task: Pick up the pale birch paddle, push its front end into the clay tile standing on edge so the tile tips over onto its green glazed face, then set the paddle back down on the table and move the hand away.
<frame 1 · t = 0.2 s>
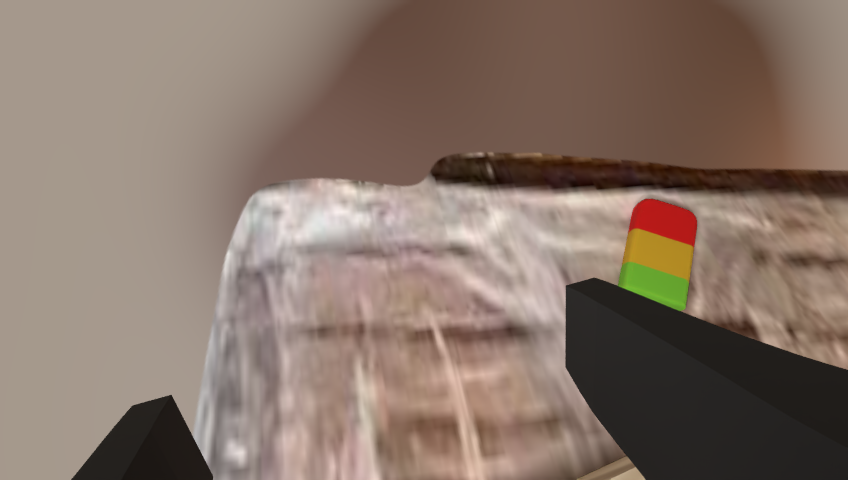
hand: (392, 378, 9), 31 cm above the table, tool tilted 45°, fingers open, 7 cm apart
popsicle: (647, 284, 43), on the table
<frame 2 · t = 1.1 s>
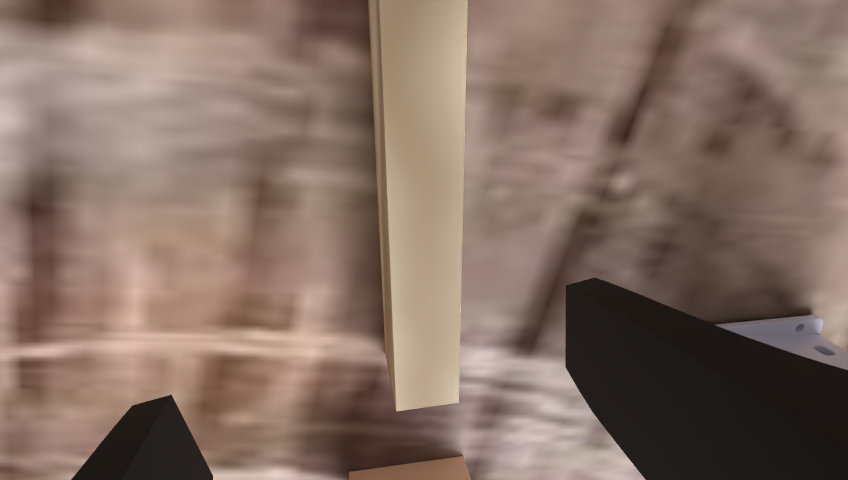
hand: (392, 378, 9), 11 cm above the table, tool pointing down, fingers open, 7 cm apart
paddle: (407, 182, 19), on the table
tile: (407, 477, 25), on the table
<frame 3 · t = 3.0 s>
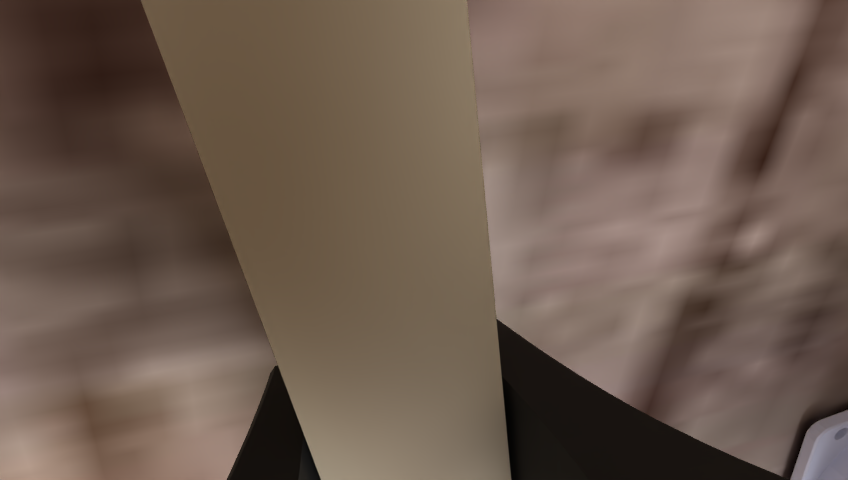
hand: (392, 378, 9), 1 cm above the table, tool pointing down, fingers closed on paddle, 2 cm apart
paddle: (376, 328, 10), on the table, touching gripper
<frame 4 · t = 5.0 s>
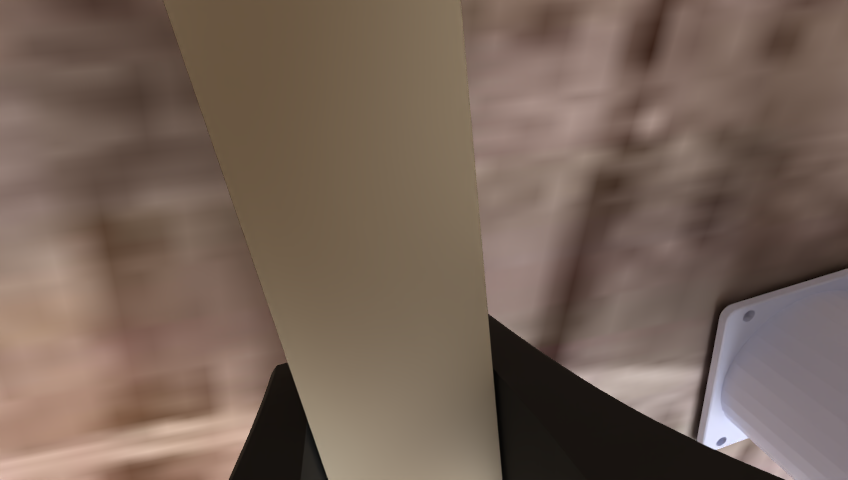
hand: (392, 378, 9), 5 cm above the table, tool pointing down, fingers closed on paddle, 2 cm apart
paddle: (373, 316, 10), point 3 cm above the table, touching gripper
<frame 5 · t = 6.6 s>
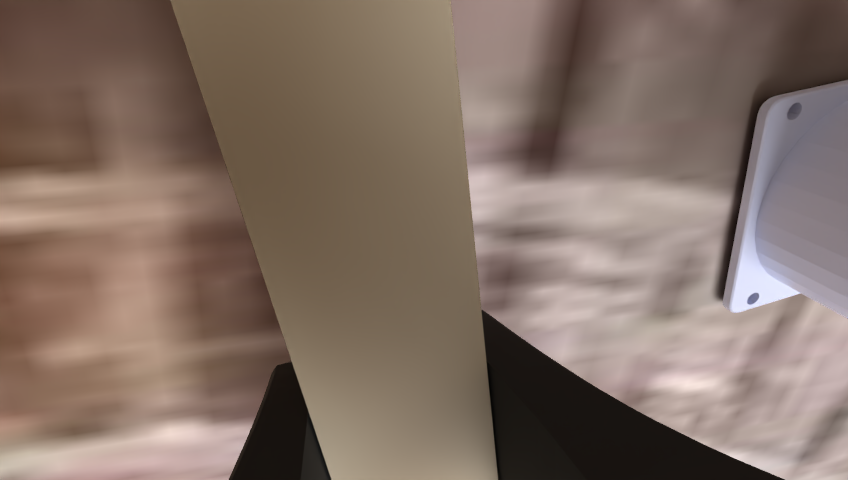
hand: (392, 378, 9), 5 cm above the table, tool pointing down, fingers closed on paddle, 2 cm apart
paddle: (371, 310, 11), point 3 cm above the table, touching gripper
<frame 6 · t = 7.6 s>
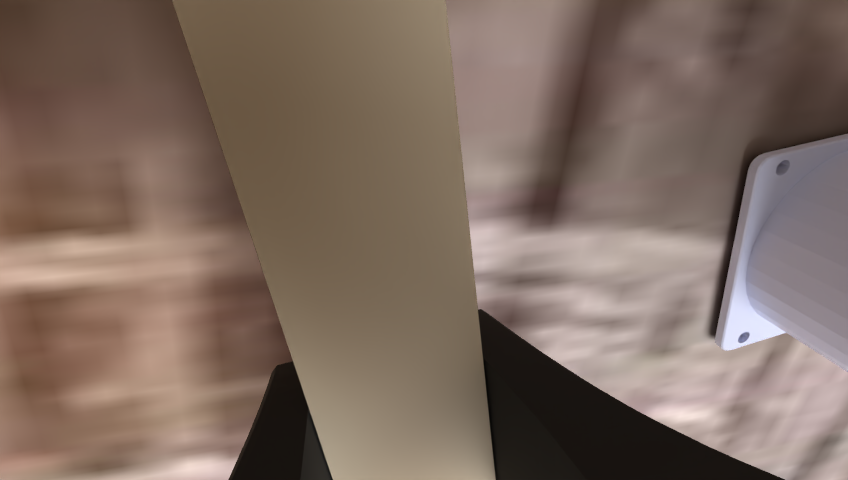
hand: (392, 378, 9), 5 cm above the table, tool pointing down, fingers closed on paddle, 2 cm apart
paddle: (370, 308, 11), point 3 cm above the table, touching gripper
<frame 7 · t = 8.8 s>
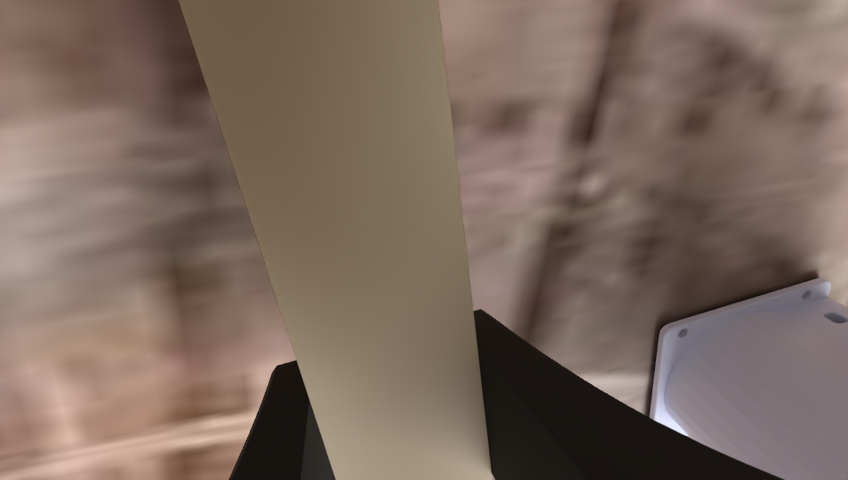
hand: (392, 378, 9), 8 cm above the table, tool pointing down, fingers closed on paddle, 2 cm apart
paddle: (369, 304, 11), point 6 cm above the table, touching gripper
when the fingers open (3 cm above the table, at t = 10.1 s): paddle stays where it is, on the table.
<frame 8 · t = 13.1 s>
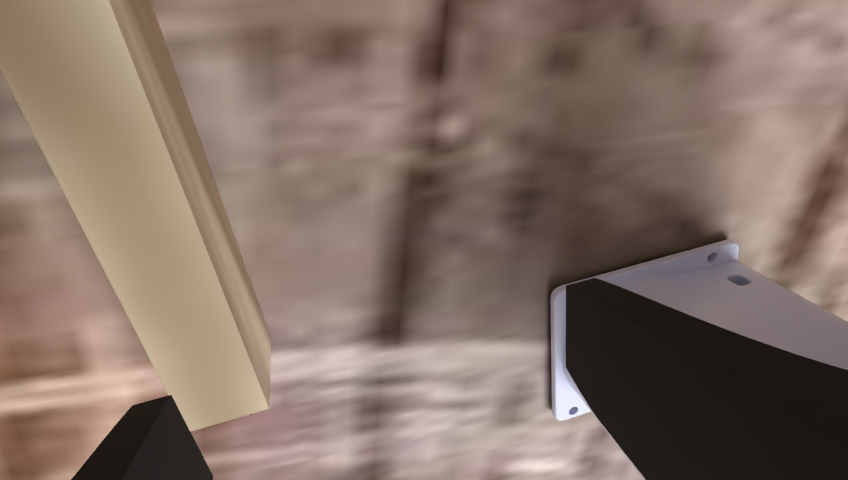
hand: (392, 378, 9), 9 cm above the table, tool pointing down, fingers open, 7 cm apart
paddle: (158, 143, 15), on the table
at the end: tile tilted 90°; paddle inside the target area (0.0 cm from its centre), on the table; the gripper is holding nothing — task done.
